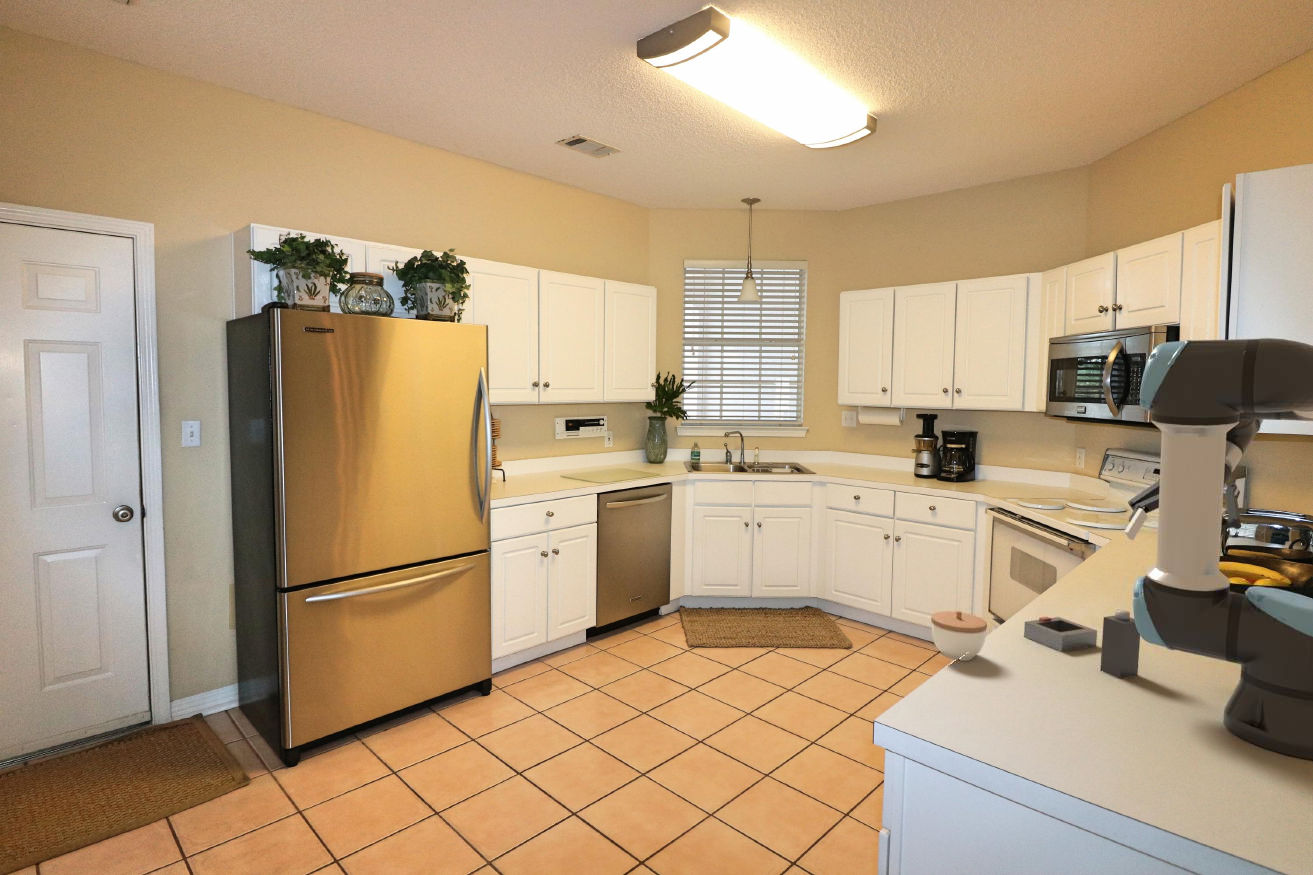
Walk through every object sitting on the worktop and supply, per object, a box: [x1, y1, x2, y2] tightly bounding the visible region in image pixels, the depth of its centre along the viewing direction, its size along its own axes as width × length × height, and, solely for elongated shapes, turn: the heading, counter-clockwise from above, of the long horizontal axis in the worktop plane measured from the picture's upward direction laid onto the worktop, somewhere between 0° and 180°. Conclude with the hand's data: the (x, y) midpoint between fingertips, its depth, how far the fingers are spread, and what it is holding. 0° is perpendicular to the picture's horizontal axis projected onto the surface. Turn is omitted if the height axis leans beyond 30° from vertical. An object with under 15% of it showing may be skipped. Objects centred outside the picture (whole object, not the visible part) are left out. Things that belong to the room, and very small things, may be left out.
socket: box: [1023, 616, 1098, 652], centre depth 154 cm, size 10×10×4 cm
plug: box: [1100, 609, 1141, 679], centre depth 137 cm, size 4×5×12 cm
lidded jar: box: [930, 610, 988, 661], centre depth 145 cm, size 11×11×9 cm
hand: (1162, 543), depth 140 cm, fingers open, 13 cm apart
